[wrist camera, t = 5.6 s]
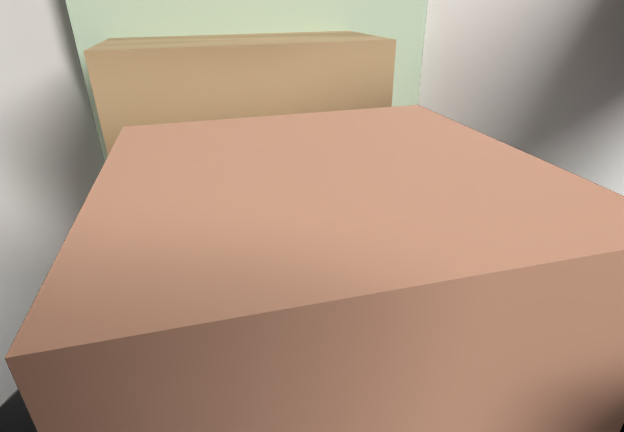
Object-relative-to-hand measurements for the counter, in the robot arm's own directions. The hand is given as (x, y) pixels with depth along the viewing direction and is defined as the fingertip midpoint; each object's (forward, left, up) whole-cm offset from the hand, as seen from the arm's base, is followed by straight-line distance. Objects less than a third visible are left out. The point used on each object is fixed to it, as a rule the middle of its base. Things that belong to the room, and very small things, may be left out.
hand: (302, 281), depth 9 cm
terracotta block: (0, 0, -2) cm, 2 cm away
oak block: (0, 0, -9) cm, 9 cm away
